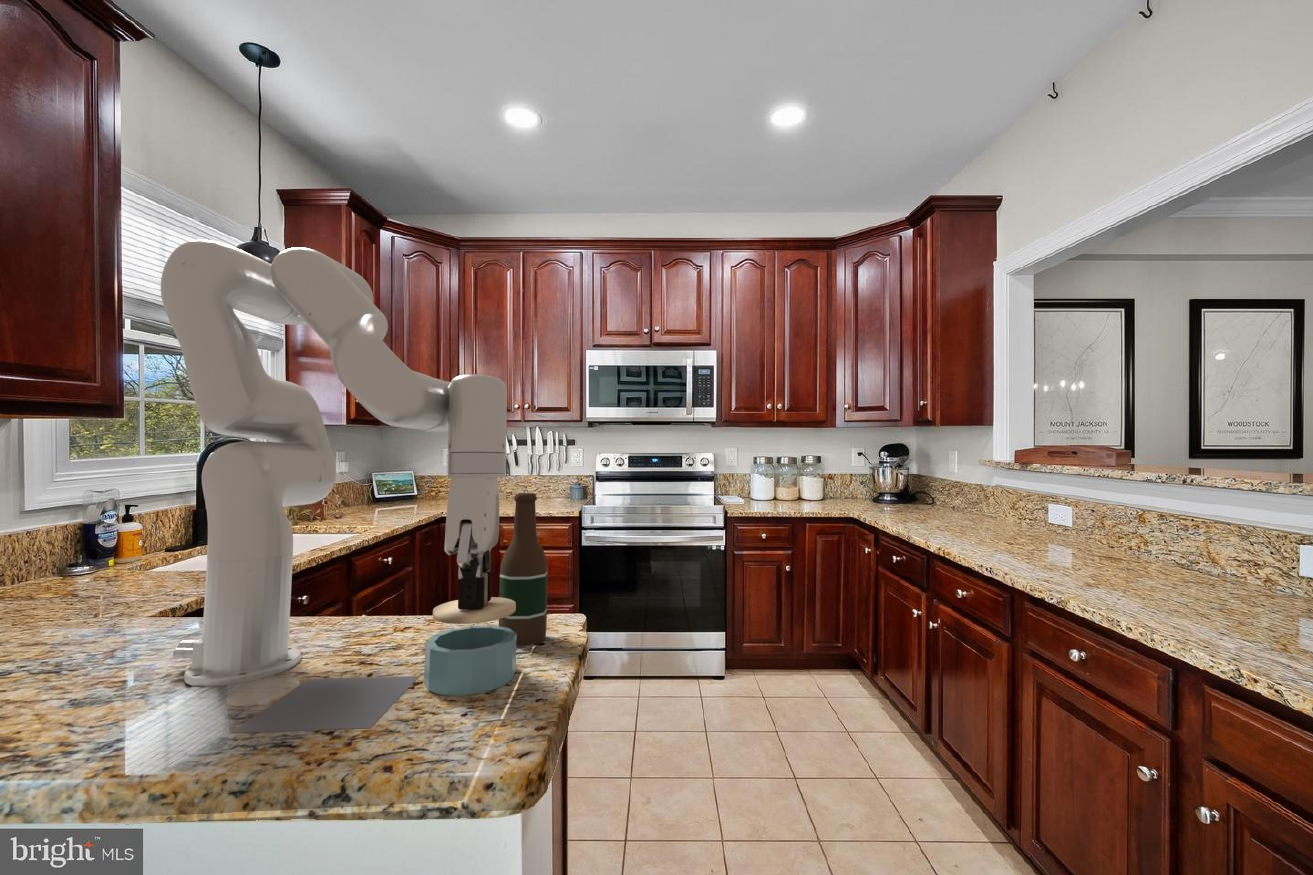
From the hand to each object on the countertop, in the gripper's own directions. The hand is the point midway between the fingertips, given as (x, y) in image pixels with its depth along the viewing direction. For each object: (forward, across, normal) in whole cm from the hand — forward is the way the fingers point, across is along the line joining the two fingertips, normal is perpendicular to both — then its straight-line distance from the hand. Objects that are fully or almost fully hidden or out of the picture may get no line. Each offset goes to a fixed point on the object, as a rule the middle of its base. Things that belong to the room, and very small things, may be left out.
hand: (475, 603), depth 69 cm
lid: (+1, 0, 0) cm, 1 cm away
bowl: (+10, 0, 0) cm, 10 cm away
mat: (+10, +6, -14) cm, 18 cm away
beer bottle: (+10, -16, +4) cm, 19 cm away
